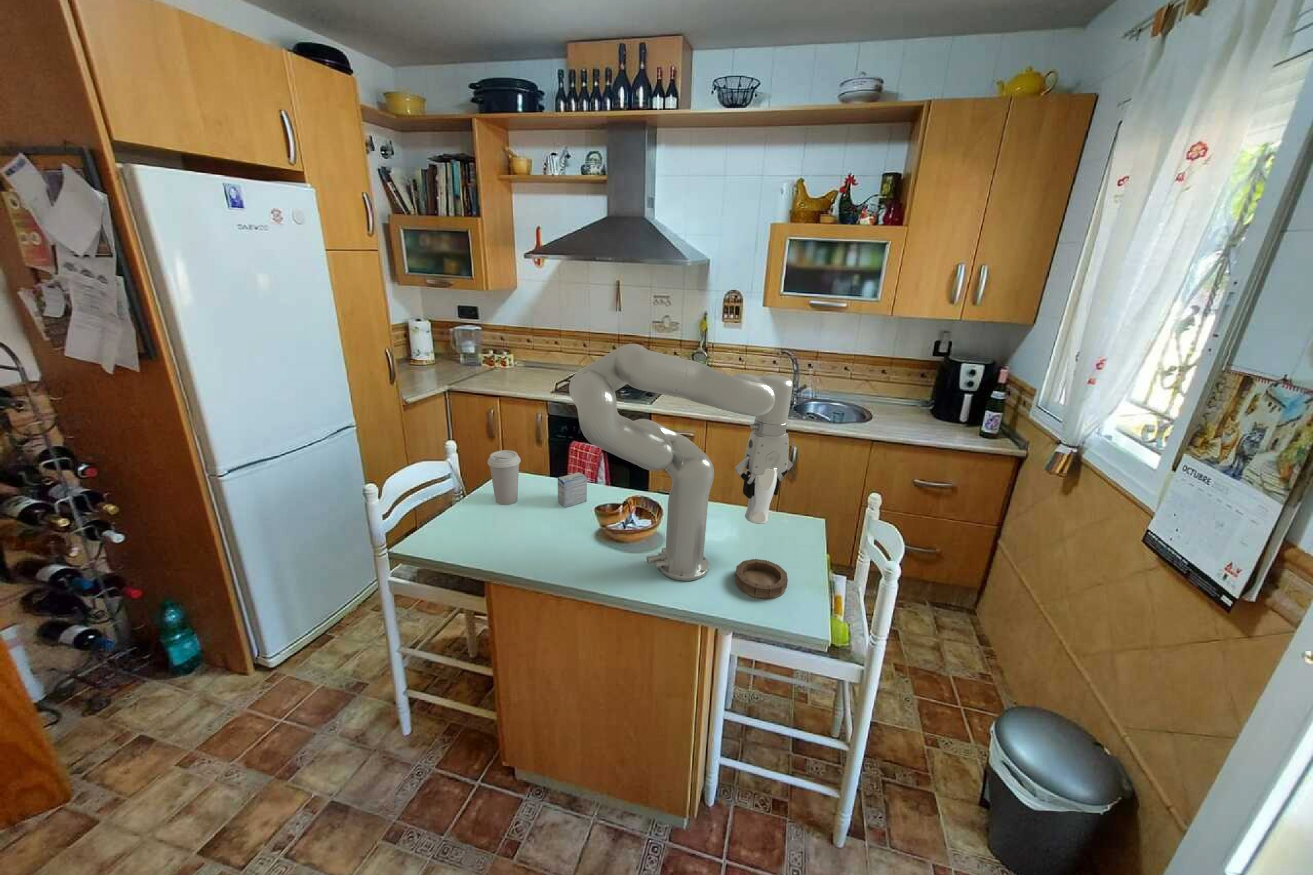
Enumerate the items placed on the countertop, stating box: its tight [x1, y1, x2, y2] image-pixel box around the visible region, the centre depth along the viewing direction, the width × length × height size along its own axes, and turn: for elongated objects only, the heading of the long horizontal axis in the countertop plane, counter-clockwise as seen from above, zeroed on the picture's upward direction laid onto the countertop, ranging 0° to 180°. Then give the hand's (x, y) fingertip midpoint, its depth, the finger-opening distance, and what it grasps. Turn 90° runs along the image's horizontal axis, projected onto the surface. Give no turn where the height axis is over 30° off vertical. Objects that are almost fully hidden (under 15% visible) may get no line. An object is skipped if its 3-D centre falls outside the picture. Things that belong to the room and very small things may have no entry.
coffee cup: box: [487, 449, 522, 506], centre depth 156 cm, size 10×10×15 cm
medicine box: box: [557, 472, 588, 509], centre depth 158 cm, size 8×4×9 cm, turn 130°
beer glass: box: [744, 468, 778, 525], centre depth 129 cm, size 7×7×15 cm
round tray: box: [734, 558, 789, 600], centre depth 124 cm, size 12×12×3 cm
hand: (760, 494), depth 129 cm, fingers closed on beer glass, 6 cm apart
